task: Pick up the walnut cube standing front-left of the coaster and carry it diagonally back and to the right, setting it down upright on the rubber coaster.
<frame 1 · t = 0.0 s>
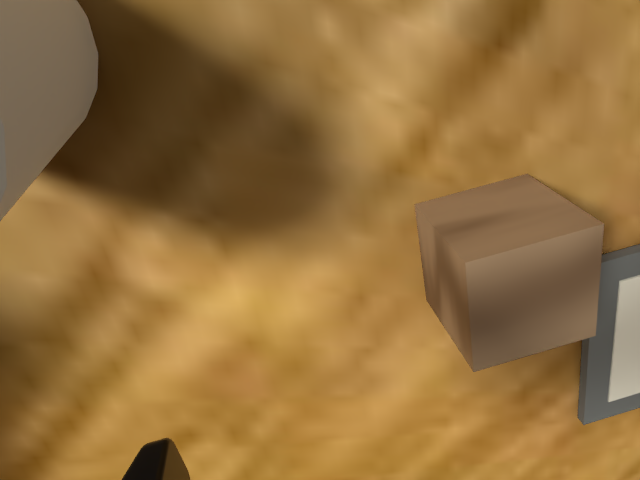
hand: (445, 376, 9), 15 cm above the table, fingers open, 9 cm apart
cube: (473, 239, 25), on the table
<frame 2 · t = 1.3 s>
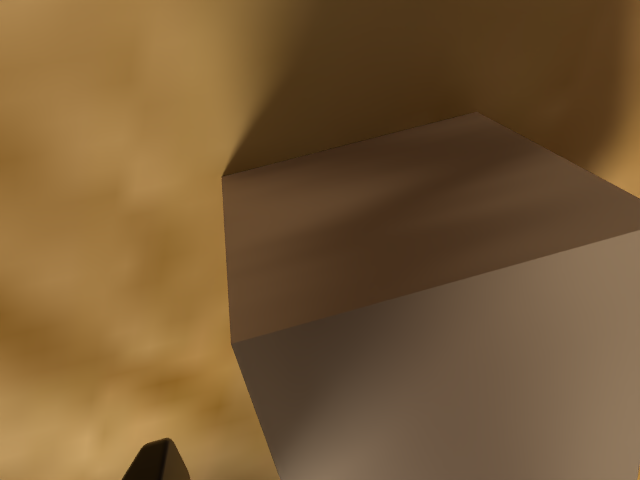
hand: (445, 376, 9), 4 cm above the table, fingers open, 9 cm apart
cube: (369, 253, 12), on the table
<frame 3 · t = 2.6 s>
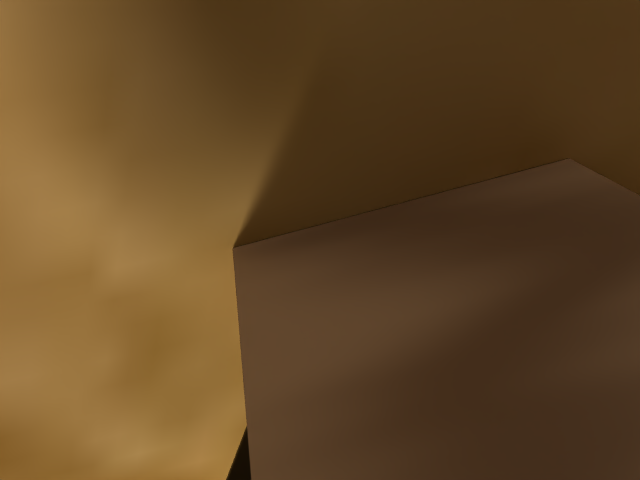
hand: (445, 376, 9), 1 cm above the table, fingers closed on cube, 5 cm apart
cube: (422, 337, 9), on the table, touching gripper
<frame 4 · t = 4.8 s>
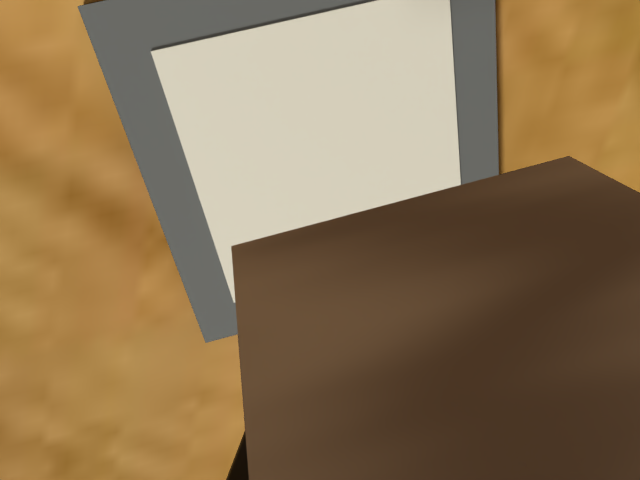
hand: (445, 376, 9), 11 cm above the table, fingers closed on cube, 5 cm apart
cube: (421, 335, 9), point 10 cm above the table, touching gripper
coaster: (325, 153, 18), on the table
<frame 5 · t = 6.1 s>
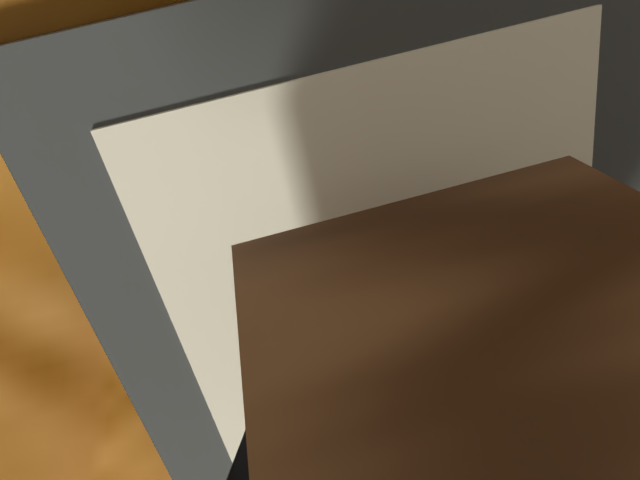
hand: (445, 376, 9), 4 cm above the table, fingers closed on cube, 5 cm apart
cube: (422, 335, 9), point 3 cm above the table, touching gripper
coaster: (380, 265, 12), on the table
when the fingers open (3 cm above the table, at t = 7.1 s): cube drops 1 cm, resting on coaster.
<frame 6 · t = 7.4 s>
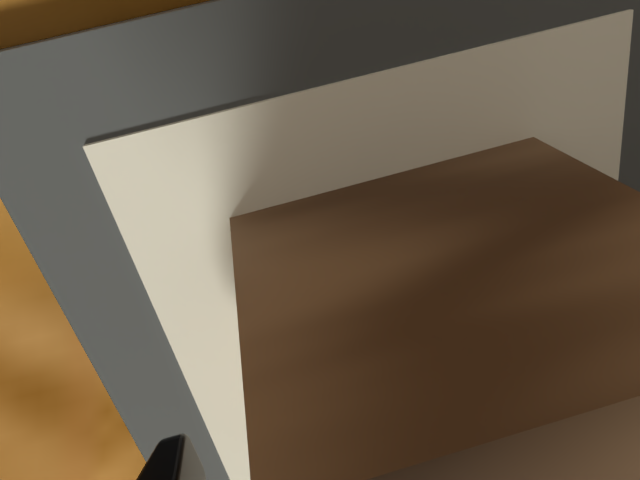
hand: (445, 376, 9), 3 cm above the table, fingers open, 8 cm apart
cube: (403, 302, 10), point 1 cm above the table, touching coaster
coaster: (391, 285, 11), on the table
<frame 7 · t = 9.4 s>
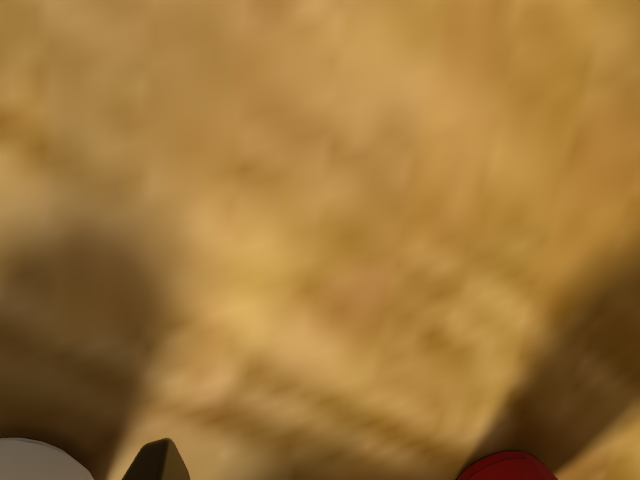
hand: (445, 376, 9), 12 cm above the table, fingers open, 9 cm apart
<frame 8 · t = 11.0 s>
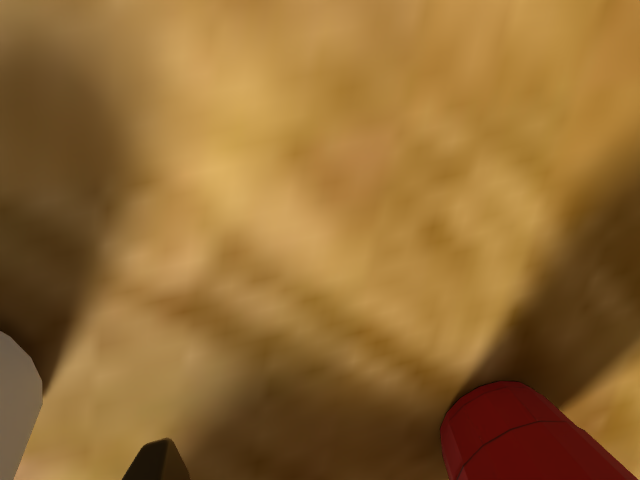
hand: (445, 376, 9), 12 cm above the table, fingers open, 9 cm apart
plastic cup: (486, 421, 28), on the table
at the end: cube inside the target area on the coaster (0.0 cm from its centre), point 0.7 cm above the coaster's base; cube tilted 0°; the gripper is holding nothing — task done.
